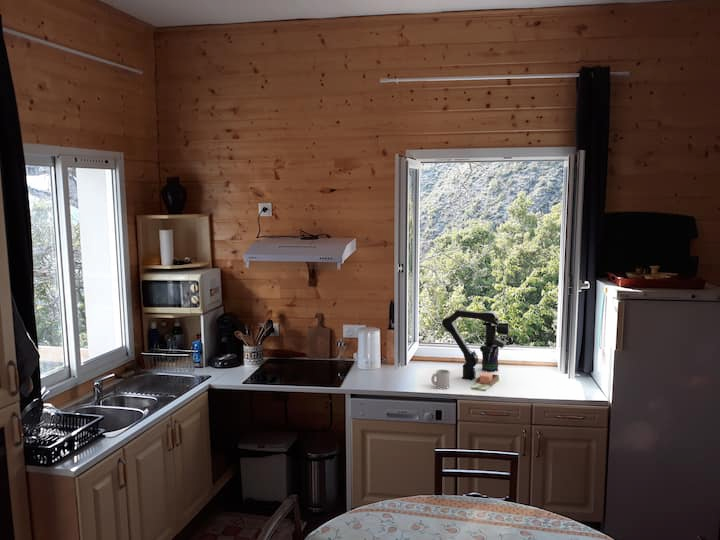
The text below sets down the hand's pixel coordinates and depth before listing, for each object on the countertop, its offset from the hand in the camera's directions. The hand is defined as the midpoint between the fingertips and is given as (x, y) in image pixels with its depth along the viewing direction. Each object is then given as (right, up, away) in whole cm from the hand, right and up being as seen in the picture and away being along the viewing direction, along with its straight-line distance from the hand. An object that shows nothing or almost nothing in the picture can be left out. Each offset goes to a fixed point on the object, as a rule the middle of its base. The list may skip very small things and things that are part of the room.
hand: (490, 360), depth 347 cm
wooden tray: (-4, -13, -6) cm, 15 cm away
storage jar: (+5, -10, +23) cm, 25 cm away
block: (-3, -12, -4) cm, 13 cm away
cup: (-30, -14, -10) cm, 34 cm away
